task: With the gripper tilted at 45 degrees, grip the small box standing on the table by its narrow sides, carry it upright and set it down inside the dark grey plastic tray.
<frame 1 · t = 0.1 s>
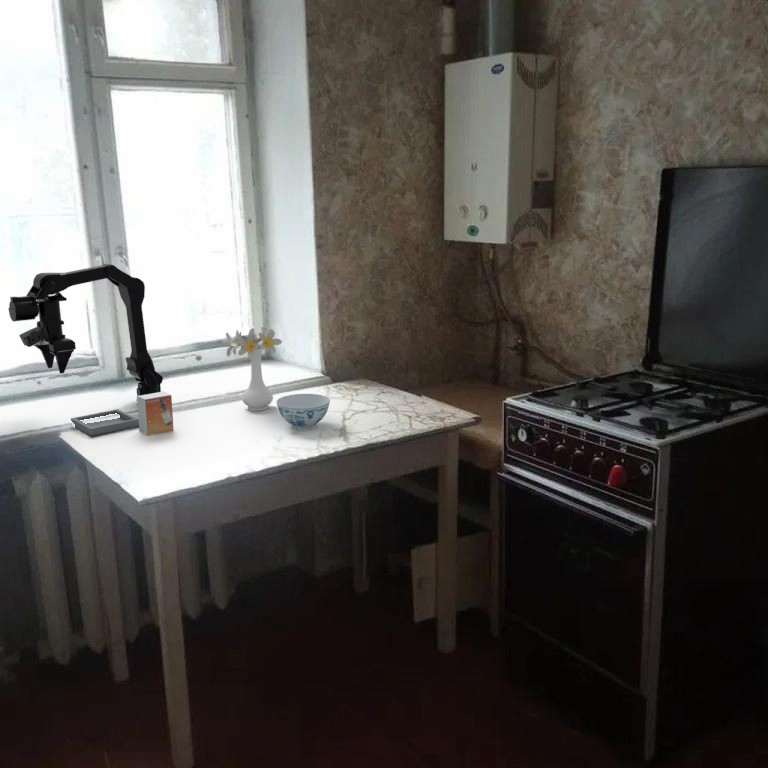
hand: (55, 370, 234), 15 cm above the table, tool pointing down, fingers open, 9 cm apart
chinaware: (303, 427, 229), on the table
flower vase: (255, 409, 247), on the table
tray: (105, 427, 230), on the table
small box: (156, 431, 226), on the table
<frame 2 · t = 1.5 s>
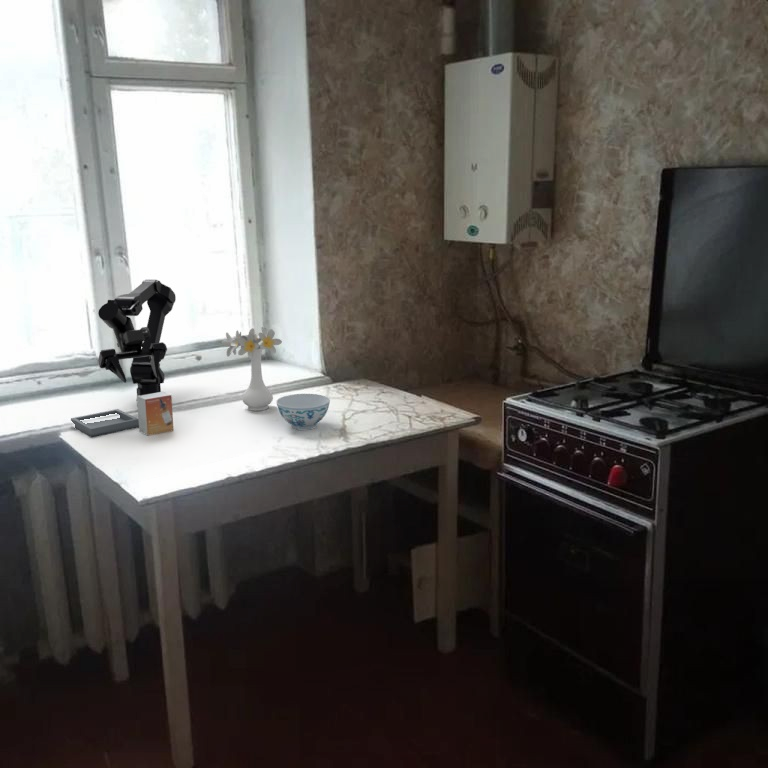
hand: (141, 379, 229), 13 cm above the table, tool tilted 45°, fingers open, 9 cm apart
nothing on the table moved.
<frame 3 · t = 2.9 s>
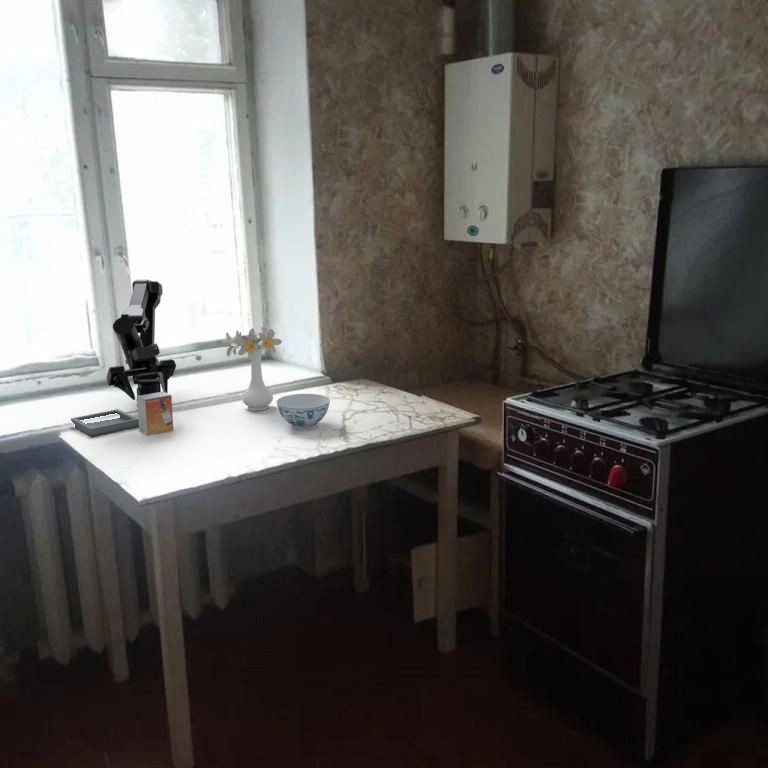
hand: (150, 396, 225), 10 cm above the table, tool tilted 45°, fingers open, 9 cm apart
nothing on the table moved.
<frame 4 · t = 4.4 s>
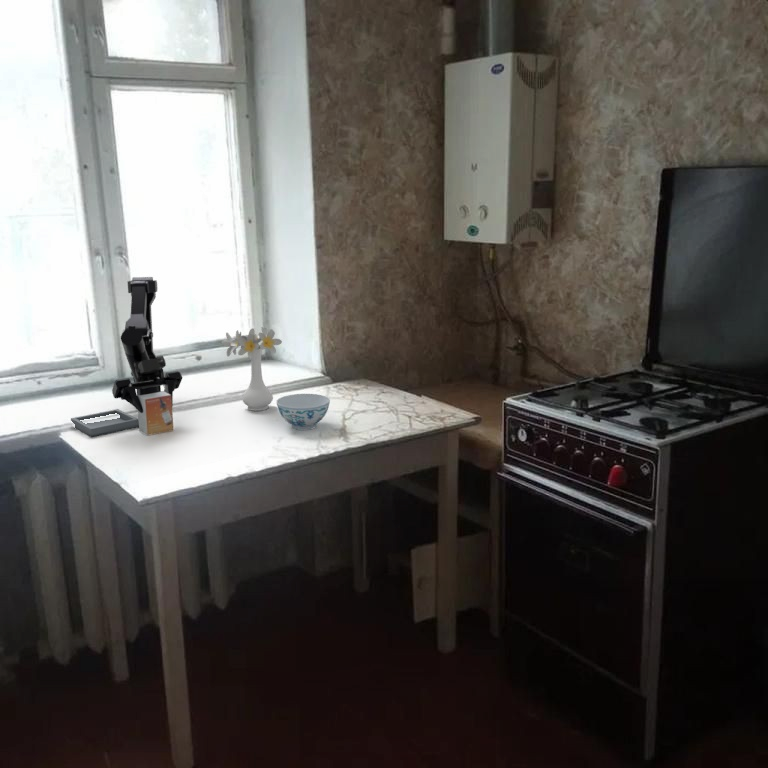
hand: (157, 409, 223), 7 cm above the table, tool tilted 45°, fingers closed on small box, 8 cm apart
small box: (156, 431, 226), on the table, touching gripper
everything else where it was.
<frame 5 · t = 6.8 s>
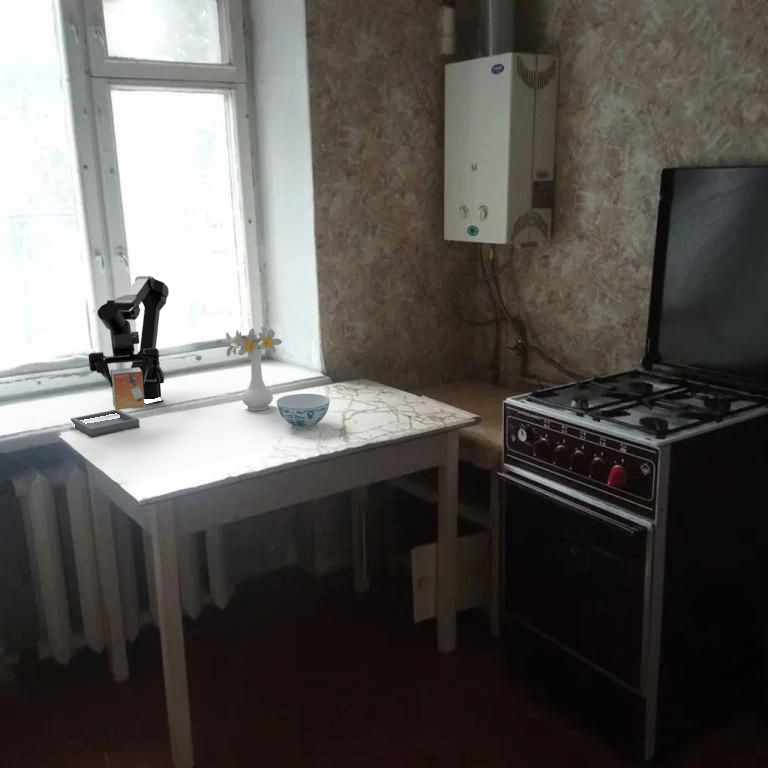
hand: (127, 385, 223), 13 cm above the table, tool tilted 45°, fingers closed on small box, 8 cm apart
small box: (129, 407, 226), point 6 cm above the table, touching gripper
everything else where it was.
when the fingers open (9 cm above the table, at t = 9.0 s): small box drops 2 cm, resting on tray.
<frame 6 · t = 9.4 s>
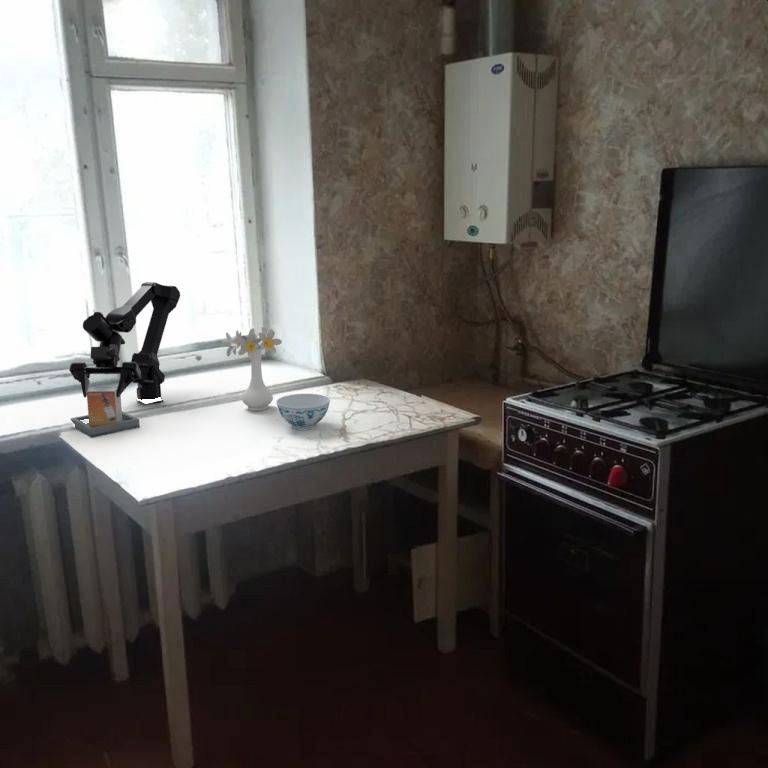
hand: (101, 396, 226), 9 cm above the table, tool tilted 45°, fingers open, 9 cm apart
small box: (106, 425, 230), point 1 cm above the table, touching tray
everything else where it was.
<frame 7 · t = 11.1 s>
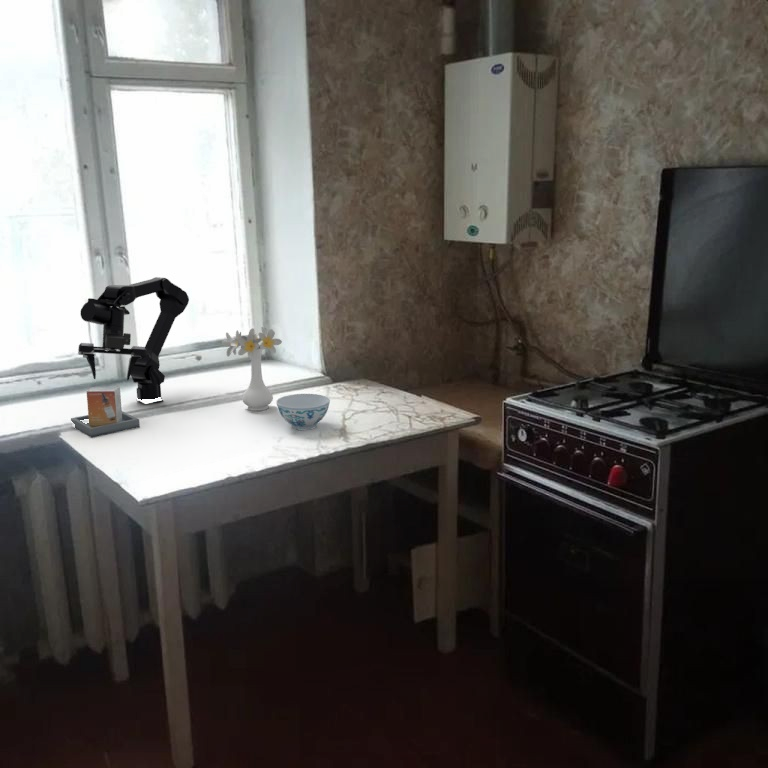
hand: (111, 379, 237), 11 cm above the table, tool tilted 20°, fingers open, 9 cm apart
nothing on the table moved.
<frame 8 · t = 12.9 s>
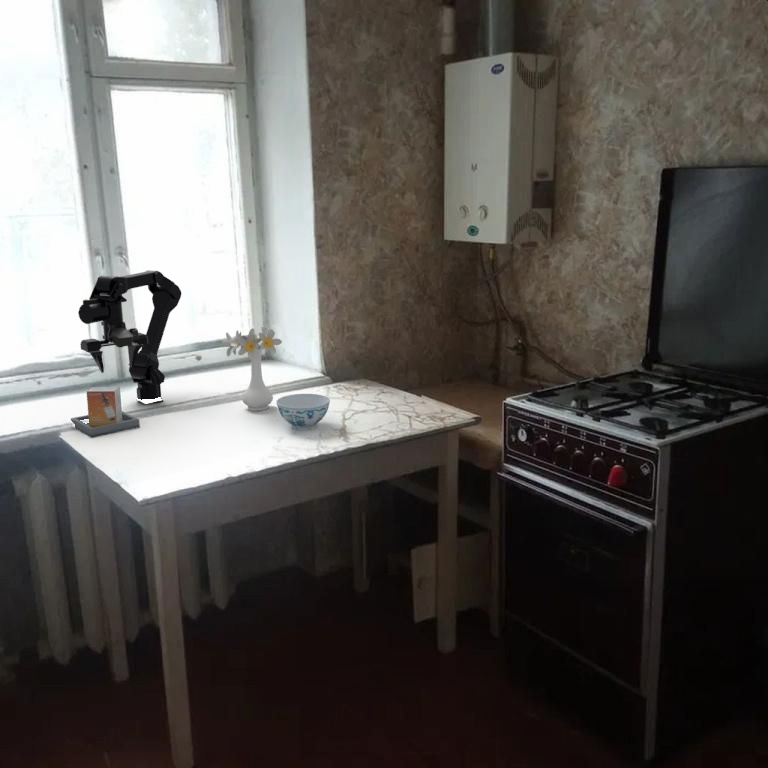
hand: (117, 370, 242), 13 cm above the table, tool pointing down, fingers open, 9 cm apart
nothing on the table moved.
at the end: small box inside the target area on the tray (0.3 cm from its centre), point 0.6 cm above the tray's base; small box tilted 0°; the gripper is holding nothing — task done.
